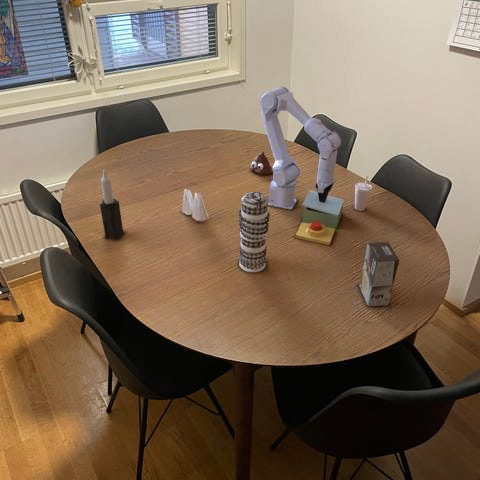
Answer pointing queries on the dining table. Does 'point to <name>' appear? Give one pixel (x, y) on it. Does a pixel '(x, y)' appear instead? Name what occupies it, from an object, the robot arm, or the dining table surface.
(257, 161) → the cartoon dung pile
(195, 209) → the shaker set
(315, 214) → the panel
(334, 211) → the pale blue lid
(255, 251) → the plaid banded cylinder
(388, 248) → the coffee box
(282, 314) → the dining table surface
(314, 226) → the button
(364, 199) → the smoothie
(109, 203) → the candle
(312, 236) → the yellow button base
